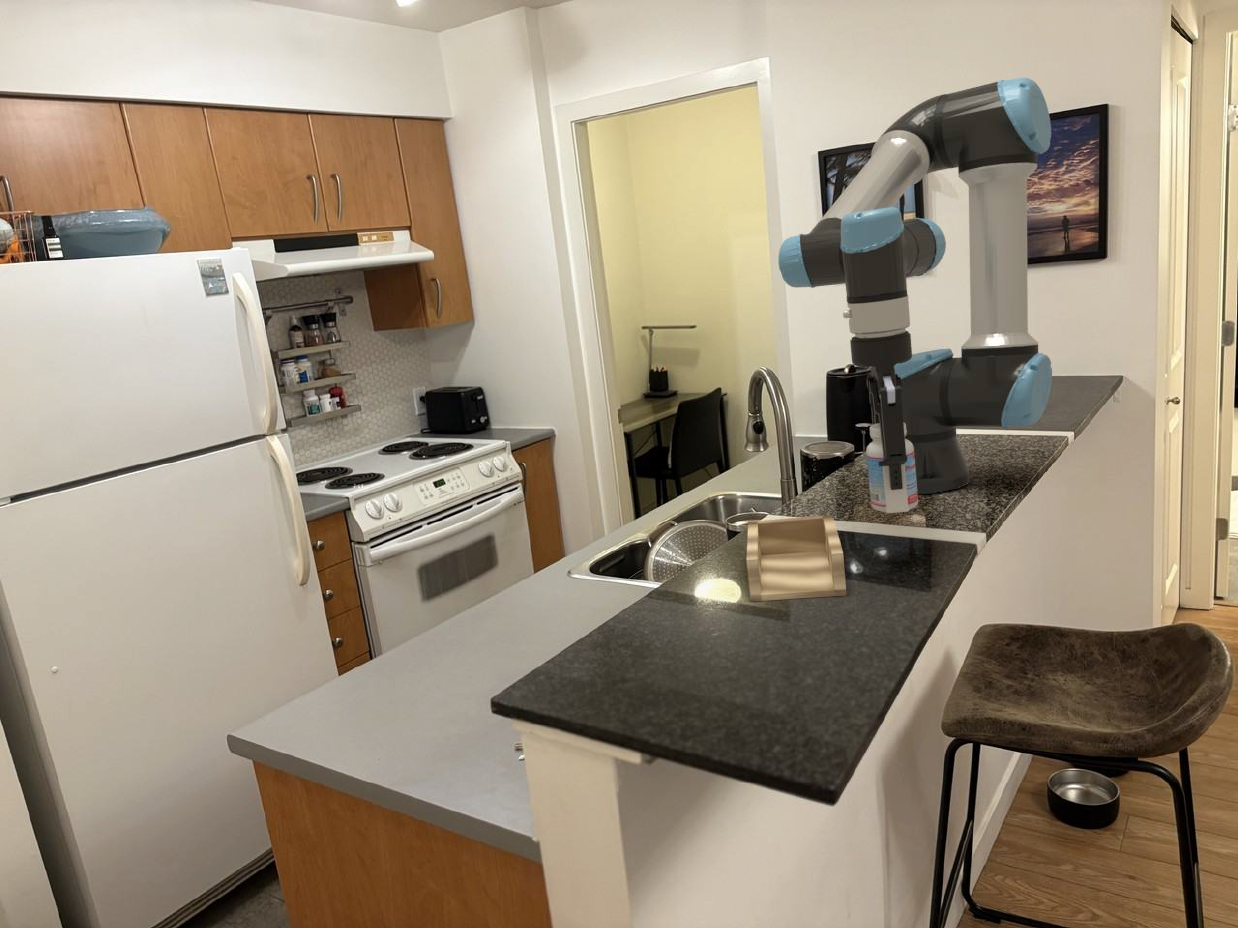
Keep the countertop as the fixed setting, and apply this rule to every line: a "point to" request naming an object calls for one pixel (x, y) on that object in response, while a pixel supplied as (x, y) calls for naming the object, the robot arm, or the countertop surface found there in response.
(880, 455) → the pill bottle
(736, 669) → the countertop surface
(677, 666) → the countertop surface
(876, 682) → the countertop surface
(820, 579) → the cradle
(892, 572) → the countertop surface
